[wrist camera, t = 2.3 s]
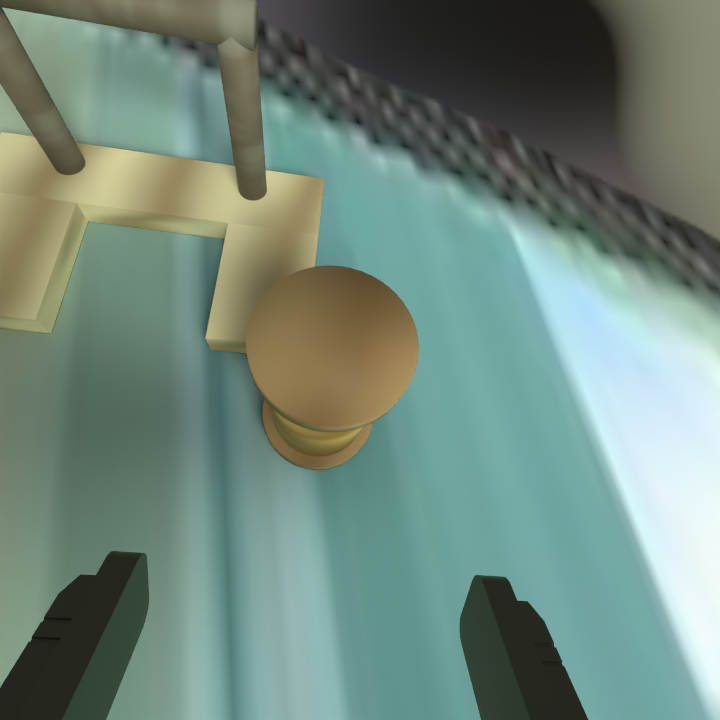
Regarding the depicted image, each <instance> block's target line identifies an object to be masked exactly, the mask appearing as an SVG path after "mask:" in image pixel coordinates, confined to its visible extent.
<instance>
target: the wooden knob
mask: <svg viewBox="0 0 720 720" xmlns="http://www.w3.org/2000/svg"><path fill="white" fill-rule="evenodd" d="M246 353H247V357H248V362H249V367H250V371H251V374H252V377H253V380H254V383H255V385H256V387H257V389H258V391H259V392H260V394H261V395H262V397H263V398H264V402H263V410H262V415H263V423H264V428H265V431H266V434H267V437H268V439H269V441H270V443H271V445H272V446H273V448H274V449H275V450H276V451H277V452H278V454H279V455H280V456H282V457H283V458H284V459H285V460H287V461H288V462H290V463H292V464H294V465H296V466H299V467H302V468H305V469H312V470H323V469H329V468H333V467H336V466H339V465H341V464H343V463H345V462H346V461H348V460H349V459H351V458H352V457H353V456H354V455H355V454H356V453H357V452H358V451H359V450H360V449H361V447H362V446H363V445H364V443H365V442H366V440H367V439H368V437H369V435H370V432H371V430H372V426H373V422H374V421H376V420H378V419H379V418H381V417H382V416H383V415H385V414H386V413H387V412H388V411H389V410H390V409H391V408H392V407H393V406H394V405H395V404H396V402H397V401H398V400H399V398H400V397H401V396H402V395H403V393H404V392H405V391H406V389H407V388H408V386H409V384H410V382H411V380H412V378H413V376H414V373H415V370H416V366H417V362H418V353H419V344H418V336H417V330H416V327H415V324H414V321H413V319H412V317H411V315H410V312H409V310H408V309H407V307H406V306H405V304H404V303H403V301H402V300H401V299H400V298H399V297H398V295H397V294H396V293H395V292H394V291H392V290H391V289H390V288H389V287H388V286H387V285H385V284H384V283H383V282H381V281H380V280H378V279H376V278H375V277H373V276H371V275H369V274H366V273H364V272H362V271H359V270H355V269H352V268H347V267H341V266H317V267H311V268H307V269H303V270H300V271H297V272H295V273H292V274H290V275H288V276H286V277H285V278H283V279H281V280H280V281H278V282H277V283H276V284H274V285H273V286H272V287H271V288H270V289H269V290H268V291H267V292H266V293H265V294H264V295H263V296H262V298H261V299H260V300H259V302H258V303H257V305H256V307H255V308H254V310H253V312H252V315H251V317H250V320H249V324H248V328H247V334H246Z"/></svg>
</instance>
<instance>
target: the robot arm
mask: <svg viewBox="0 0 720 720" xmlns="http://www.w3.org/2000/svg"><path fill="white" fill-rule="evenodd" d="M148 605H149V587H148V569H147V556H146V554H145V553H134V552H118V551H112V552H110V553H109V554H108V555H107V557H106V558H105V560H104V562H103V564H102V566H101V567H100V569H99V571H98V573H97V574H96V575H80V576H78V577H77V578H76V579H75V580H74V581H73V582H72V583H70V584H69V585H68V586H67V587H66V588H65V589H64V590H62V591H61V592H60V593H59V594H58V596H57V597H56V599H55V600H54V602H53V604H52V605H51V607H50V609H49V610H48V612H47V613H46V615H45V617H44V620H43V622H41V623H40V625H39V626H38V628H37V630H36V631H35V633H34V634H33V636H32V640H31V641H30V642H28V644H27V646H26V647H25V649H24V650H23V652H22V654H21V655H20V657H19V659H18V660H17V662H16V663H15V665H14V667H13V668H12V670H11V671H10V673H9V675H8V676H7V678H6V679H5V681H4V683H3V684H2V686H1V688H0V720H106V718H107V716H108V713H109V711H110V708H111V706H112V703H113V701H114V698H115V696H116V693H117V691H118V688H119V686H120V683H121V681H122V678H123V676H124V673H125V671H126V668H127V666H128V663H129V661H130V658H131V656H132V653H133V651H134V648H135V646H136V643H137V641H138V638H139V636H140V633H141V631H142V628H143V626H144V623H145V619H146V615H147V611H148ZM460 638H461V643H462V648H463V651H464V655H465V659H466V663H467V667H468V671H469V675H470V678H471V682H472V686H473V690H474V694H475V698H476V702H477V705H478V709H479V713H480V717H481V720H588V718H587V716H586V714H585V711H584V709H583V707H582V705H581V703H580V700H579V698H578V696H577V694H576V691H575V689H574V687H573V685H572V682H571V680H570V678H569V676H568V673H567V671H566V669H565V667H564V666H563V665H562V660H561V658H560V656H559V653H558V651H557V649H556V648H555V647H554V642H553V640H552V638H551V635H550V633H549V631H548V629H547V626H546V624H545V622H544V620H543V619H542V618H541V617H540V616H539V614H538V613H537V612H536V611H535V610H534V608H533V607H532V606H531V605H530V604H529V603H528V601H517V599H516V597H515V594H514V592H513V589H512V587H511V584H510V582H509V581H508V579H507V578H506V577H499V576H483V575H476V576H474V578H473V580H472V583H471V586H470V589H469V592H468V595H467V598H466V601H465V604H464V608H463V611H462V614H461V618H460Z"/></svg>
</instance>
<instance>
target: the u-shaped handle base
mask: <svg viewBox="0 0 720 720" xmlns="http://www.w3.org/2000/svg"><path fill="white" fill-rule="evenodd" d="M2 7H4V8H10V9H15V10H21V11H27V12H33V13H39V14H45V15H51V16H56V17H62V18H68V19H74V20H80V21H86V22H91V23H97V24H103V25H109V26H115V27H121V28H127V29H132V30H138V31H144V32H150V33H156V34H162V35H167V36H173V37H179V38H185V39H191V40H197V41H203V42H208V43H214V44H216V45H217V51H218V58H219V65H220V71H221V78H222V84H223V91H224V97H225V104H226V111H227V117H228V124H229V130H230V137H231V143H232V150H233V157H234V163H235V166H233V165H226V164H219V163H212V162H206V161H199V160H192V159H185V158H178V157H171V156H164V155H157V154H150V153H143V152H137V151H130V150H123V149H116V148H109V147H102V146H95V145H88V144H81V143H75V141H74V139H73V137H72V135H71V133H70V132H69V130H68V128H67V126H66V124H65V122H64V121H63V119H62V117H61V115H60V113H59V111H58V110H57V108H56V106H55V104H54V102H53V100H52V99H51V97H50V95H49V93H48V91H47V89H46V88H45V86H44V84H43V82H42V80H41V78H40V77H39V75H38V73H37V71H36V69H35V67H34V66H33V64H32V62H31V60H30V58H29V56H28V55H27V53H26V51H25V49H24V47H23V45H22V44H21V42H20V40H19V38H18V36H17V34H16V33H15V31H14V29H13V27H12V25H11V23H10V22H9V20H8V18H7V16H6V14H5V12H4V11H3V9H2ZM257 39H258V8H257V3H256V1H254V0H0V84H1V85H2V87H3V88H4V90H5V91H6V93H7V95H8V96H9V98H10V99H11V101H12V102H13V104H14V105H15V107H16V109H17V110H18V112H19V113H20V115H21V116H22V118H23V120H24V121H25V123H26V124H27V126H28V127H29V129H30V130H31V132H32V134H33V135H34V137H33V136H26V135H19V134H12V133H5V132H1V134H0V328H5V329H14V330H24V331H34V332H43V333H52V330H53V327H54V324H55V320H56V317H57V314H58V311H59V308H60V305H61V302H62V299H63V296H64V293H65V290H66V287H67V284H68V281H69V278H70V275H71V272H72V269H73V266H74V263H75V260H76V257H77V254H78V251H79V248H80V244H81V241H82V238H83V235H84V232H85V229H86V226H87V223H88V221H90V222H98V223H106V224H113V225H121V226H129V227H137V228H144V229H152V230H160V231H168V232H176V233H183V234H191V235H199V236H207V237H214V238H222V239H225V241H224V246H223V251H222V256H221V261H220V266H219V272H218V277H217V282H216V287H215V292H214V297H213V302H212V307H211V312H210V317H209V322H208V328H207V333H206V340H207V343H208V345H209V347H210V350H217V351H226V352H236V353H246V334H247V328H248V324H249V320H250V317H251V315H252V312H253V310H254V308H255V307H256V305H257V303H258V302H259V300H260V299H261V298H262V296H263V295H264V294H265V293H266V292H267V291H268V290H269V289H270V288H271V287H272V286H273V285H274V284H276V283H277V282H278V281H280V280H281V279H283V278H285V277H286V276H288V275H290V274H292V273H295V272H297V271H300V270H303V269H307V268H311V267H315V262H316V253H317V244H318V235H319V226H320V217H321V208H322V199H323V188H324V179H323V178H316V177H309V176H302V175H295V174H288V173H282V172H275V171H268V170H266V169H265V155H264V141H263V127H262V113H261V98H260V84H259V70H258V56H257ZM246 354H247V353H246Z"/></svg>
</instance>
